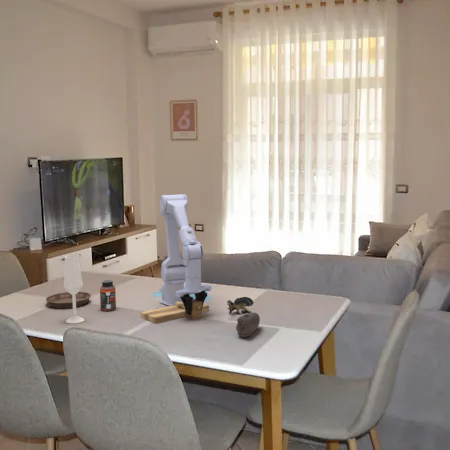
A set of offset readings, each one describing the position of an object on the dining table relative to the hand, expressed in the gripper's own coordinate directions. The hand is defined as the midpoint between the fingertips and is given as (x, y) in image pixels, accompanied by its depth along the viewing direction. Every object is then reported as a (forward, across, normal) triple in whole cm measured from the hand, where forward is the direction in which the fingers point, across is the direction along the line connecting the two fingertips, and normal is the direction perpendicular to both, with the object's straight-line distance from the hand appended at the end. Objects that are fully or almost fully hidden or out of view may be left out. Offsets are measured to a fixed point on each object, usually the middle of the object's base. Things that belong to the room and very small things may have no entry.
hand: (194, 312), depth 207 cm
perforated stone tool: (+2, +3, -27) cm, 27 cm away
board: (+2, -3, +8) cm, 8 cm away
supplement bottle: (+2, -19, +31) cm, 36 cm away
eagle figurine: (+2, +16, -8) cm, 18 cm away
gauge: (+2, 0, +4) cm, 4 cm away
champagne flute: (+2, -35, +26) cm, 43 cm away
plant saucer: (+2, -27, +50) cm, 57 cm away
